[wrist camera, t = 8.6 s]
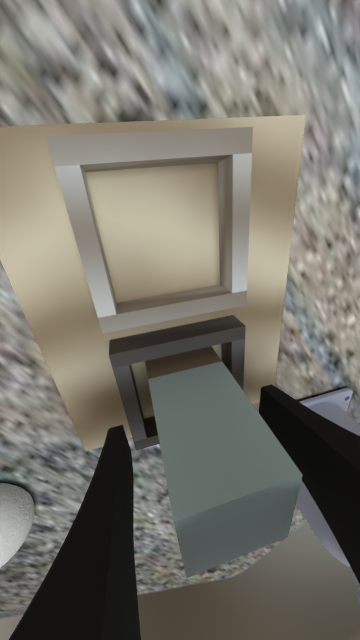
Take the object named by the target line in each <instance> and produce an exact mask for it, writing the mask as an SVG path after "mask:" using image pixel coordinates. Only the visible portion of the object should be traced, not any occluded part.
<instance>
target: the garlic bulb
mask: <svg viewBox="0 0 360 640" xmlns="http://www.w3.org/2000/svg"><path fill="white" fill-rule="evenodd" d="M34 510H35V509H34V502H33V500H32V497H31V496H30V494H29V493H28V492H27V491H25V490H24V489H23V488H21V487H18V486H16V485H12V484H8V483H0V567H2V566H3V565H4V564H5V563H6V562H7V561H8V560H9V559H10V558H11V557H12V556H13V555H14V554H15V553H16V552H17V551H18V550H19V548H20V547H21V545H22V544H23V542H24V541H25V539H26V537H27V535H28V533H29V531H30V528H31V525H32V522H33V518H34Z"/></svg>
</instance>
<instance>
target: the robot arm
mask: <svg viewBox="0 0 360 640" xmlns="http://www.w3.org/2000/svg"><path fill="white" fill-rule="evenodd" d="M352 393H353V391H352V390H351V389H350V388H344V389H340V390H337V391H333V392H330V393H327V394H323V395H320V396H316V397H313V398H309V399H306V400H303V401H299V402H298V401H297V400H295V399H293V398H292V397H290V396H289V395H287V394H286V393H284V392H283V391H281V390H279V389H278V388H276V387H275V386H273V385H272V384H271V385H267V386H264V387H261V393H260V405H259V414H260V415H261V417H262V418H263V420H264V421H265V423H266V424H267V425H268V427H269V428H270V430H271V431H272V432H273V434H274V435H275V437H276V438H277V440H278V441H279V442H280V444H281V445H282V447H283V448H284V449H285V451H286V452H287V454H288V455H289V456H290V458H291V459H292V461H293V462H294V464H295V465H296V466H297V468H298V469H299V471H300V472H301V473H302V475H303V476H302V480H301V484H300V488H299V492H298V497H297V501H296V504H297V506H298V507H299V509H300V511H301V512H302V514H303V516H304V517H305V519H306V520H307V522H308V524H309V525H310V527H311V529H312V530H313V532H314V533H315V535H316V537H317V538H318V539H319V541H320V542H321V543H322V544H323V546H324V547H325V548H326V549H327V550H328V551H329V552H330V553H331V554H332V555H333V556H334V557H335V558H337V559H338V560H339V561H341V562H342V563H344V564H345V565H347V566H349V567H351V568H352V570H353V572H352V573H351V576H352V577H353V579H354V580H355V582H356V583H357V585H358V587H359V591H358V601H359V606H360V424H359V423H358V422H357V421H356V420H355V419H353V418H352V417H351V416H350V415H349V414H348V413H347V409H348V406H349V403H350V400H351V397H352ZM9 640H141V636H140V625H139V613H138V600H137V587H136V574H135V560H134V541H133V466H132V456H131V450H130V447H129V443H128V440H127V437H126V434H125V430H124V427H123V425H119V426H115V427H112V428H109V429H108V431H107V435H106V439H105V443H104V446H103V449H102V452H101V455H100V458H99V461H98V464H97V467H96V470H95V472H94V475H93V478H92V480H91V483H90V485H89V488H88V490H87V493H86V495H85V497H84V500H83V502H82V505H81V507H80V509H79V511H78V514H77V516H76V518H75V520H74V522H73V524H72V527H71V529H70V531H69V533H68V535H67V537H66V539H65V541H64V543H63V545H62V547H61V549H60V551H59V552H58V554H57V556H56V558H55V560H54V562H53V564H52V566H51V568H50V570H49V571H48V573H47V575H46V577H45V579H44V581H43V582H42V584H41V586H40V588H39V589H38V591H37V593H36V594H35V596H34V598H33V600H32V601H31V603H30V605H29V606H28V608H27V610H26V612H25V613H24V615H23V617H22V619H21V620H20V622H19V624H18V625H17V627H16V629H15V630H14V632H13V634H12V635H11V637H10V639H9Z"/></svg>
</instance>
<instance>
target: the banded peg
mask: <svg viewBox="0 0 360 640" xmlns="http://www.w3.org/2000/svg"><path fill="white" fill-rule="evenodd" d="M145 365H146V371H147V376H148V382H149V387H150V393H151V398H152V404H153V409H154V415H155V420H156V426H157V431H158V437H159V442H160V448H161V454H162V459H163V465H164V470H165V476H166V481H167V487H168V492H169V498H170V503H171V509H172V514H173V520H174V525H175V529H176V533H177V538H178V542H179V546H180V551H181V555H182V559H183V564H184V568H185V572H186V577H187V578H188V577H191V576H193V575H196V574H198V573H201V572H203V571H205V570H208V569H210V568H213V567H215V566H218V565H220V564H223V563H225V562H227V561H230V560H232V559H235V558H237V557H240V556H242V555H245V554H247V553H249V552H252V551H254V550H257V549H259V548H262V547H264V546H267V545H269V544H271V543H274V542H276V541H279V540H281V539H284V538H286V537H288V534H289V530H290V526H291V522H292V518H293V513H294V509H295V505H296V501H297V497H298V492H299V488H300V484H301V480H302V476H303V475H302V473H301V472H300V471H299V469H298V468H297V466H296V465H295V464H294V462H293V461H292V459H291V458H290V456H289V455H288V454H287V452H286V451H285V449H284V448H283V447H282V445H281V444H280V442H279V441H278V440H277V438H276V437H275V435H274V434H273V432H272V431H271V430H270V428H269V427H268V425H267V424H266V423H265V421H264V420H263V418H262V417H261V415H260V414H259V413H258V411H257V410H256V408H255V407H254V406H253V404H252V403H251V401H250V400H249V399H248V397H247V396H246V394H245V393H244V391H243V390H242V389H241V387H240V386H239V384H238V383H237V382H236V380H235V379H234V377H233V376H232V375H231V373H230V372H229V370H228V369H227V367H226V366H225V365H224V363H223V362H222V360H221V359H220V358H219V356H218V355H217V353H216V352H215V351H214V349H213V348H212V346H210V347H206V348H201V349H197V350H192V351H188V352H183V353H179V354H174V355H170V356H165V357H161V358H157V359H152V360H148V361H145Z"/></svg>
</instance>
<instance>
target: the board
mask: <svg viewBox="0 0 360 640" xmlns="http://www.w3.org/2000/svg"><path fill="white" fill-rule="evenodd" d="M305 118H306V115H296V116H270V117H243V118H217V119H191V120H164V121H138V122H112V123H85V124H59V125H33V126H7V127H0V260H1V263H2V265H3V267H4V269H5V272H6V274H7V276H8V278H9V281H10V283H11V285H12V287H13V290H14V292H15V294H16V296H17V299H18V301H19V303H20V305H21V308H22V310H23V312H24V314H25V316H26V319H27V321H28V323H29V325H30V328H31V330H32V332H33V334H34V337H35V339H36V341H37V343H38V346H39V348H40V350H41V352H42V355H43V357H44V359H45V361H46V364H47V366H48V368H49V370H50V373H51V375H52V377H53V379H54V382H55V384H56V386H57V388H58V391H59V393H60V395H61V397H62V400H63V402H64V404H65V406H66V409H67V411H68V413H69V415H70V418H71V420H72V422H73V424H74V427H75V429H76V431H77V433H78V436H79V438H80V440H81V442H82V445H83V447H84V449H85V451H88V450H92V449H96V448H99V447H103V446H104V443H105V439H106V435H107V431H108V429H109V428H112V427H115V426H119V425H123V427H124V430H125V434H126V437H127V439H131V438H133V442H134V445H135V449H136V450H139V449H143V448H146V447H149V446H153V445H156V444H160V442H159V437H158V431H157V426H156V420H155V415H154V409H153V404H152V398H151V393H150V387H149V382H148V376H147V371H146V365H145V361H148V360H152V359H157V358H161V357H165V356H170V355H174V354H179V353H183V352H188V351H192V350H197V349H201V348H206V347H210V346H212V348H213V349H214V351H215V352H216V353H217V355H218V356H219V358H220V359H221V360H222V362H223V363H224V365H225V366H226V367H227V369H228V370H229V372H230V373H231V375H232V376H233V377H234V379H235V380H236V382H237V383H238V384H239V386H240V387H241V389H242V390H243V391H244V393H245V394H246V396H247V397H248V399H249V400H250V401H251V403H252V404H255V403H259V402H260V393H261V387H264V386H267V385H271V384H272V385H273V386H274V385H275V376H276V368H277V359H278V350H279V342H280V333H281V325H282V316H283V307H284V299H285V290H286V281H287V273H288V264H289V256H290V247H291V238H292V230H293V221H294V212H295V204H296V195H297V187H298V178H299V169H300V161H301V152H302V144H303V135H304V126H305Z"/></svg>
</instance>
